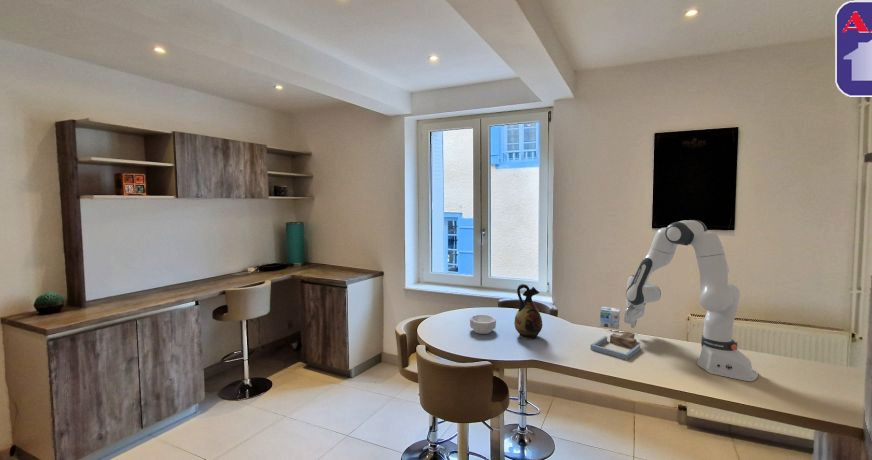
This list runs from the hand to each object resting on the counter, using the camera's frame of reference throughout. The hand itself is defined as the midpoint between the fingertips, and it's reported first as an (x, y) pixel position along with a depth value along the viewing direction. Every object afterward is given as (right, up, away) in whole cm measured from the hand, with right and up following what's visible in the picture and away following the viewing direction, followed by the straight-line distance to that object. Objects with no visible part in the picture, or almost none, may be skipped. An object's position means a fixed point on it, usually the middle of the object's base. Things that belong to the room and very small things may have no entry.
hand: (633, 327), depth 225 cm
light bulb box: (-6, -4, +18) cm, 19 cm away
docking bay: (-17, -8, -17) cm, 25 cm away
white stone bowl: (-83, -6, +12) cm, 84 cm away
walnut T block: (-8, -7, -8) cm, 13 cm away
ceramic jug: (-59, -6, +3) cm, 60 cm away
